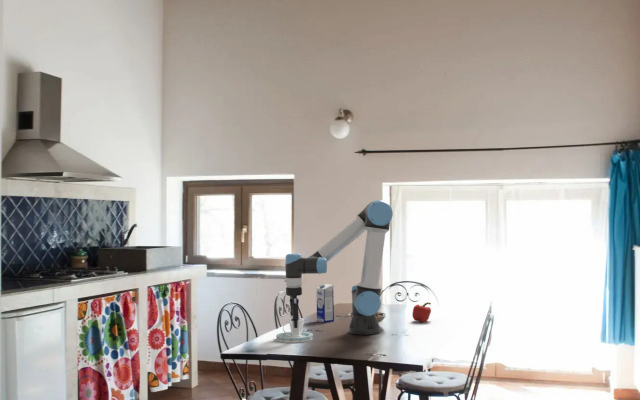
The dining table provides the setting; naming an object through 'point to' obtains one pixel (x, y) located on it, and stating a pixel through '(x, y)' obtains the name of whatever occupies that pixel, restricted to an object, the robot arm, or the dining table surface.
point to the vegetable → (421, 312)
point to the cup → (292, 327)
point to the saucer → (286, 338)
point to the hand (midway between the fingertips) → (294, 332)
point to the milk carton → (325, 303)
